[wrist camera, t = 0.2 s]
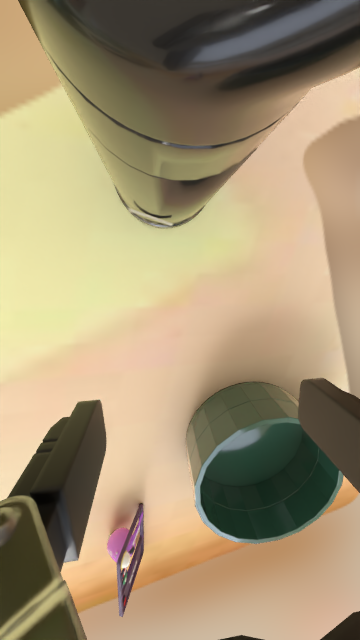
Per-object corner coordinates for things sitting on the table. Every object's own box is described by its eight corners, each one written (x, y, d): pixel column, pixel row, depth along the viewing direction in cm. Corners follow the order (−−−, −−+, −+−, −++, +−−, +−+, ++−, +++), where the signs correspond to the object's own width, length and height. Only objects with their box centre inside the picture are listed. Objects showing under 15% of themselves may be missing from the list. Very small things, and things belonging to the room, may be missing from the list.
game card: (128, 620, 28) (126, 565, 25) (88, 604, 29) (83, 551, 26) (148, 553, 34) (148, 504, 32) (115, 542, 35) (113, 495, 33)
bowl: (183, 388, 28) (192, 428, 22) (309, 375, 30) (354, 409, 23) (188, 492, 32) (197, 554, 26) (298, 477, 34) (334, 531, 27)
